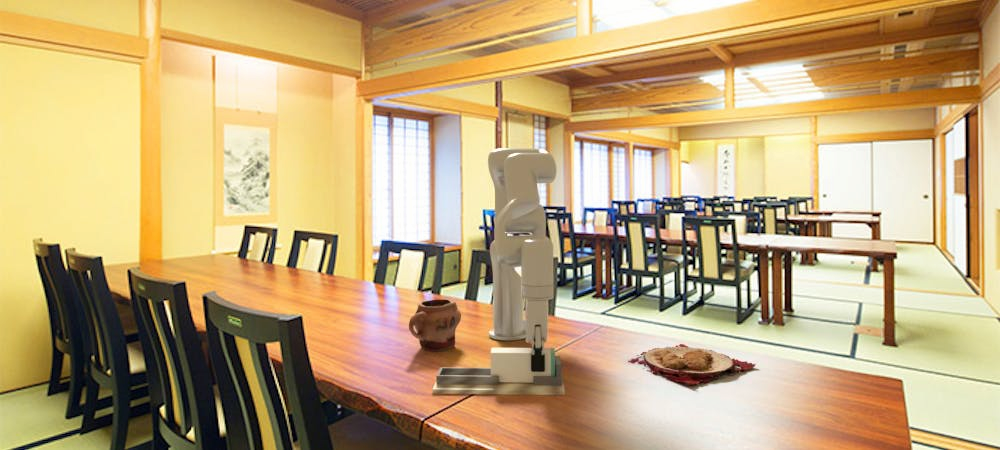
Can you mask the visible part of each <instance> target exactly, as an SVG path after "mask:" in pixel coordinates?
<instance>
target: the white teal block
mask: <svg viewBox="0 0 1000 450" xmlns="http://www.w3.org/2000/svg"><path fill="white" fill-rule="evenodd" d="M531 354H532V347H491V348H490V368H491V376H499V382H526V383H533V376H555V356H556V351H555V347H544V354H545V371H544V372H532V371H531Z"/></svg>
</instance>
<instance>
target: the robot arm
mask: <svg viewBox="0 0 1000 450" xmlns="http://www.w3.org/2000/svg"><path fill="white" fill-rule="evenodd" d="M487 166H488V172H489V174H490V179H491V180H492V184H493V188H494V229H493V231H494V232H493V234H494V236H493V237H494V240H493V241H492V242H491V243H490V247H489V254H490V261H491V267H492V269H491V270H492V291H493V292H492V293H493V297H492V298H493V300H492V301H493V302H492V303H493V308H492V309H493V312H492V313H493V329H490V330H489V331H488V336H489V338H490V339H494V340H497V341H505V342H507V341H509V342H510V341H513V342H514V341H520V340H523V339H525V342H526V343H527V344H529V342H531V348H532V354H531V371H532V372H544V371H545V354H544V348H545V347H544V346H545V343H547V341H548V331H549V300H552V299H554V244H553V241H552V240H551V239H550V238H549V237H548V236H547V235H546V234H547V232H546V231H547V230H546V229H547V219H546V218H547V217H546V212H545V208H544V206H543V205H542V204H541V202H540V199H541V198H540V194H539V188H538V187H539V186H538V184H551V183H553V182H554V181H555V179H556V177H557V164H556V160H555V158H554V156H553V155H552V154H551V153H550V152H549V151H548V150H545V149H543V148H522V147H521V148H517V147H515V148H514V147H513V148H512V147H511V148H510V147H509V148H508V147H507V148H506V147H505V148H496V149H493V150H492V151H490V152H489V154H488V158H487ZM507 234H524V235H507ZM525 234H526V235H525ZM527 234H528V235H527ZM515 268H520V269H521V270H520V272H521V273H518V272H517V270H516V269H515ZM524 300H525V305H524ZM524 306H525V307H524ZM524 309H525V311H524ZM524 313H525V319H524Z"/></svg>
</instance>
